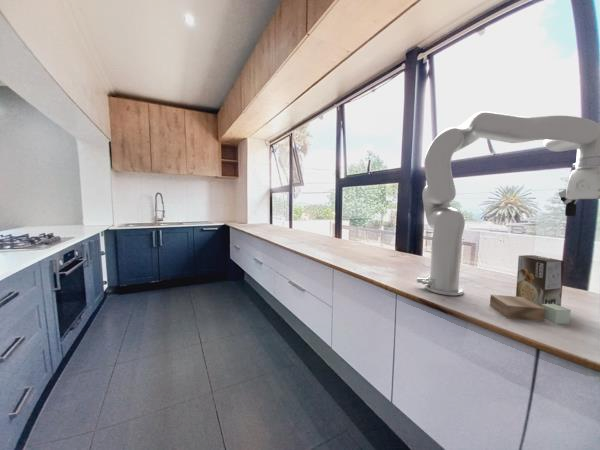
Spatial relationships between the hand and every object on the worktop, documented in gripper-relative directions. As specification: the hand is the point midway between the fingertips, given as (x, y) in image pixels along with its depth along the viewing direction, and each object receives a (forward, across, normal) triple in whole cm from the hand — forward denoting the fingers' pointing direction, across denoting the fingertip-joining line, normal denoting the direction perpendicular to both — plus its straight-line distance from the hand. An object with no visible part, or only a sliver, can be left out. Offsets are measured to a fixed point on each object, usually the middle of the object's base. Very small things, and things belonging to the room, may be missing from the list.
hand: (587, 216), depth 80 cm
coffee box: (+30, +3, -19) cm, 35 cm away
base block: (+30, +7, -31) cm, 43 cm away
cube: (+29, +12, -24) cm, 40 cm away
